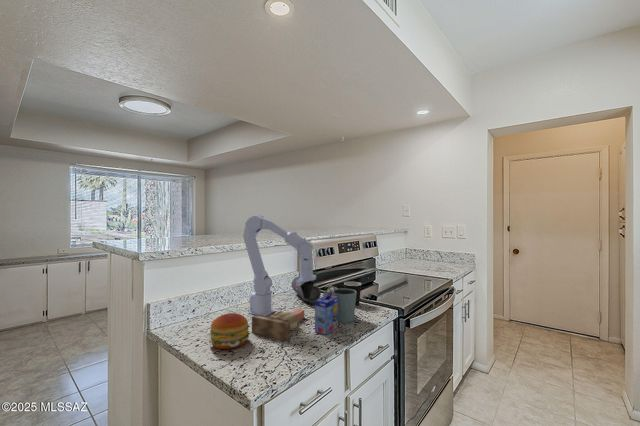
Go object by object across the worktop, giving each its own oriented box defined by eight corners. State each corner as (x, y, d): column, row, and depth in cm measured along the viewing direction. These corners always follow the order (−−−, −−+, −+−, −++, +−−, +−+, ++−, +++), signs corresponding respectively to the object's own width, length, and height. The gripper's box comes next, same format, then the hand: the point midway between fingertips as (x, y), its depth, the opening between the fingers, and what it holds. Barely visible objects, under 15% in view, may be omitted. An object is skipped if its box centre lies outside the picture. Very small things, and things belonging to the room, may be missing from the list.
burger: (210, 355, 94) (209, 324, 94) (208, 339, 106) (207, 311, 106) (252, 347, 99) (252, 318, 99) (245, 332, 112) (245, 306, 111)
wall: (251, 332, 111) (251, 316, 111) (255, 330, 113) (255, 315, 113) (287, 340, 104) (287, 323, 104) (290, 338, 106) (290, 322, 106)
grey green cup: (327, 319, 124) (327, 291, 124) (342, 313, 132) (342, 286, 132) (346, 325, 118) (346, 295, 117) (361, 319, 125) (361, 290, 125)
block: (270, 328, 115) (270, 316, 115) (280, 322, 121) (280, 311, 121) (287, 332, 111) (287, 319, 111) (297, 326, 117) (297, 314, 117)
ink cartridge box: (326, 335, 108) (326, 296, 108) (314, 332, 111) (313, 294, 111) (339, 326, 117) (338, 290, 117) (326, 323, 120) (326, 288, 120)
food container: (337, 316, 128) (337, 293, 128) (323, 315, 130) (323, 292, 130) (340, 307, 140) (340, 286, 140) (328, 306, 142) (328, 285, 142)
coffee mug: (364, 303, 147) (364, 282, 147) (356, 307, 139) (356, 286, 139) (343, 299, 153) (343, 280, 153) (335, 303, 146) (335, 283, 145)
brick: (287, 323, 121) (287, 314, 121) (297, 316, 128) (297, 309, 128) (294, 324, 120) (294, 316, 120) (304, 318, 127) (304, 310, 127)
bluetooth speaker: (290, 294, 163) (290, 276, 163) (306, 292, 167) (306, 274, 167) (304, 306, 142) (304, 285, 142) (321, 303, 146) (321, 283, 146)
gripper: (306, 271, 124) (306, 304, 124) (321, 265, 137) (322, 295, 137) (291, 270, 127) (292, 301, 127) (308, 264, 140) (308, 293, 140)
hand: (306, 298), depth 132 cm, fingers closed
